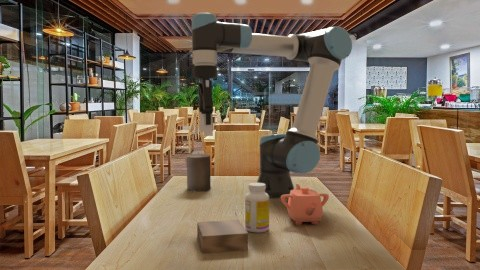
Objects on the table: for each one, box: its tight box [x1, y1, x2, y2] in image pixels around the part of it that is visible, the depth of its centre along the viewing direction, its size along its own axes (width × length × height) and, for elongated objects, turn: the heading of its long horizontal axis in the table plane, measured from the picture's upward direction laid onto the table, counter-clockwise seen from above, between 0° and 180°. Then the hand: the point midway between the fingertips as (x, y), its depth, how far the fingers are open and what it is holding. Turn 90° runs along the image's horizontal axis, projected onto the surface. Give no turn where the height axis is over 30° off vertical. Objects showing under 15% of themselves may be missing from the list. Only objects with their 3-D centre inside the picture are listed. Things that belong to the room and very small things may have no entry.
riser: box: [196, 219, 249, 254], centre depth 100 cm, size 11×11×4 cm
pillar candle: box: [186, 152, 212, 192], centre depth 161 cm, size 10×10×15 cm
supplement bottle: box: [244, 182, 270, 234], centre depth 110 cm, size 7×7×13 cm
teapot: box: [280, 183, 330, 226], centre depth 118 cm, size 14×12×10 cm
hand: (205, 134), depth 124 cm, fingers open, 13 cm apart
